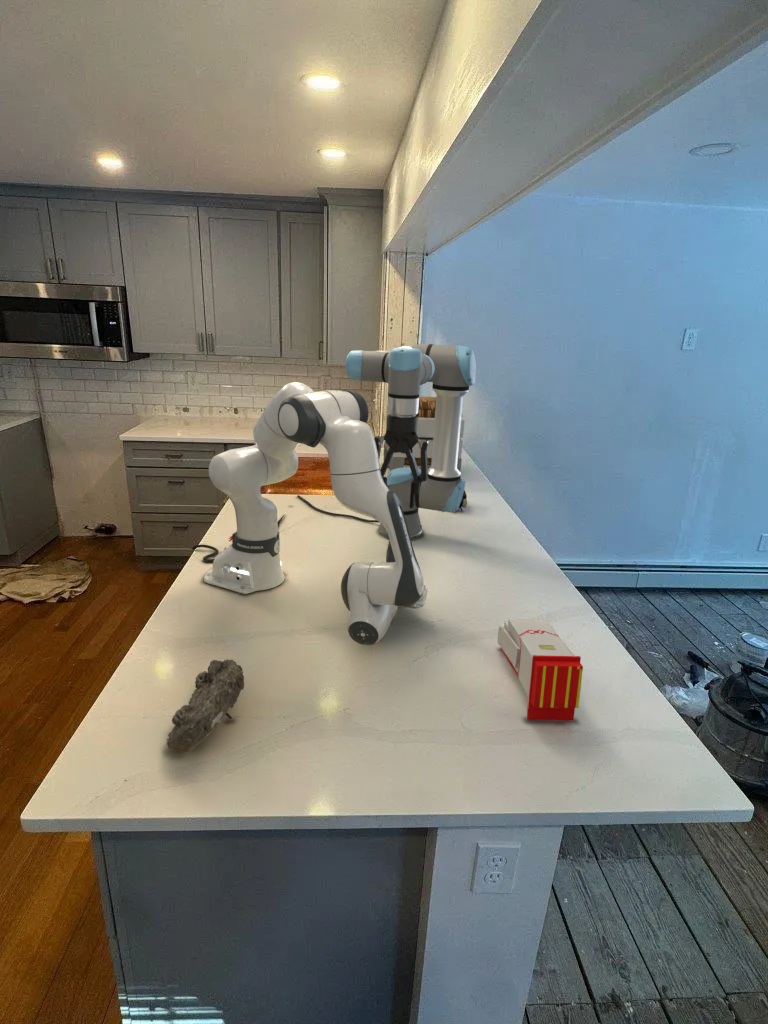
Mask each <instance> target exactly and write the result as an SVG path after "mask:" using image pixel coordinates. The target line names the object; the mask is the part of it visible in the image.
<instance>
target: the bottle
mask: <svg viewBox="0 0 768 1024" xmlns="http://www.w3.org/2000/svg"><path fill="white" fill-rule="evenodd" d="M386 547H387V548H386V553H385V562H396V561H395V558H394V554H393V550H392V547H391V543H390V540H388V543H387V546H386Z"/></svg>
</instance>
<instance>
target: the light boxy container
mask: <svg viewBox="0 0 768 1024" xmlns="http://www.w3.org/2000/svg"><path fill="white" fill-rule="evenodd" d="M435 409H436V396H419V408H418V414H417V415H416V416H417V417H418V424H417V435H418V438H419V439H421V440H424V441H425V440H428V441H429V445H428V448H427V467H431V462H432V449H433V436H434V422H435ZM385 414H386V415H385V423H386V424H387V416H388V415H389V413H388V412H387V411H386V413H385ZM464 429H465V419H464V418H463V417H462V418H461V428H460V439H459V450H458V461H457V469H458V470H459V471H460V472H462V461H463V460H462V453H463V442H464V441H463V440H462V439H463V438H464V431H465V430H464ZM412 449H413V452H414V457H415V461H416V464H417V467H421V454H420V453H421V449H420V448H419V445H418V443H416V445H415V446H414V447H413V448H412ZM388 450H389V446H388V445H387V443H386V442H385V441H383V461H384V460H385V458H386V455H387V452H388ZM405 466H406V467H410V465H409V462H408V458H407V457H406V454H404V453H400V452H398V453H394V454H393V456H392V458H391V461H390V463H389V465H388V468H389V472H390V471H391V470H393V469H396V468H402V467H405Z"/></svg>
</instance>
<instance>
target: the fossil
mask: <svg viewBox="0 0 768 1024" xmlns="http://www.w3.org/2000/svg"><path fill="white" fill-rule="evenodd" d="M243 670H244V669H243V667H242V665H240V664H237V662H236V661H235V660H234V659H232V658H231V659H227V658H226V659H224V660H223V661H222V660H217V659H212V660H211V661H210V663H209V665H208V666H207V671H201V672H199V673H198V674H197V675H196V676H195V680H194V684H195V685H194V687H195V689H194V690H193V693H192V694H191V697H190V698H189V700H188V704H184V705H182V706H181V707H180V709H177V710H176V711H175V713H174V715H173V716H172V718H171V723H172V724H173V727H172V730H171V731H170V732H168V734H167V738H166V741H167V742H166V745H167V749H168V750H169V751H173V752H174V753H176V754H178V753H182V752H188V751H189V752H192V751H193V750H195V748H196V747H197V746H199V744H200V743H201V742H203V741H204V740H205V739H206V738H207V737H208V736H209V735H210V734H211V733H212V732H214V730H215V729H217V727H218V726H219V724H220V722H221V721H222V720H223V719H224V718H225V716H226V717H227V719H229V720H233V717H232V715H230V714H229V710H230V709H231V708H234V706H235V704H236V703H237V702H238V699H239V697H240V695H241V693H242V691H243V690H245V689H244V688H245V675H244V671H243Z"/></svg>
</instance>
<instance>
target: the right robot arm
mask: <svg viewBox="0 0 768 1024" xmlns="http://www.w3.org/2000/svg"><path fill="white" fill-rule="evenodd" d="M345 374H346V376H347V377H348V378H349V380H353V381H359V382H372V383H373V382H374V383H385V384H387V385H388V386H387V403H386V412H388V413H389V415H388V416H387V423H386V428H385V433H384V435H376V436H374V438H375V442H376V446H377V451H378V456H379V460H380V458H381V452H382V445H384V442H386V443H387V445H388V446H389V450H388V452H387V455H386V458H385V460H384V459H383V463H382V464H381V466H380V472H381V476H382V479H383V481H384V483H385V485H386V486H387V488H388V489H389V490H390V491H392V492H394V493H395V494H396V495H397V497H398V499H399V501H400V504H401V507H402V510H403V513H404V516H405V520H406V523H407V527H408V531H409V534H410V538H411V540H415V539H418V538H420V537H421V536H422V535H423V525H422V524H421V518H420V515H419V509H424V510H431V511H435V512H436V511H437V512H441V513H456V512H457V511H458V507H459V505H460V503H461V500H462V497H463V493H464V490H465V489H466V480H465V479H464V478H462V473H461V472H462V471H461V472H460V471H459V470H458V469H457V461H458V450H459V439H461V438H460V428H461V418H462V419H463V408H464V407H463V405H464V396H465V395H466V394H467V393H468V392H469V391H470V387H471V386H474V385H475V383H476V376H477V363H476V356H475V353H474V350H473V349H472V348H471V347H470V346H464V345H459V344H457V345H455V344H454V345H453V344H436V343H435V344H434V343H433V344H432V343H419V344H412V345H411V344H410V345H403V346H399V347H393V348H392V349H390V350H362V349H359V350H357V349H356V350H351V351H349V352H348V354H347V356H346V359H345ZM427 383H432V386H431V387H432V390H433V391H434V393H435V394H436V396H435V397H436V409H435V422H434V436H433V449H432V462H431V465H430V466H427V448H428V445H429V441H428V440H425V441H424V440H421V439H419V438H418V435H417V424H418V417H417V416H416V415H417V414H418V408H419V397H420V388H421V386H422V385H425V384H427ZM416 443H418V445H419V448H420V449H421V453H420V454H421V466H420V468H419V466H417V464H416V461H415V457H414V452H413V449H412V448H413V447H414V446H415V445H416ZM398 452H400V453H404V454H406V457H407V458H408V462H409V465H410V466H404V467H402V468H396V469H393V470H391V471H390V470H389V472H388V473H387V475H386V472H387V470H388V468H389V467H388V465H389V463H390V461H391V458H392V456H393V454H394V453H398ZM428 467H429V468H428ZM296 497H297V498H298V499H300V500H302V501H303V502H304V503H306V504H307V505H308V506H309V507H310V508H312V509H314V510H316V511H317V512H320V513H323V514H327V515H330V516H337V517H346V518H351V519H356V520H359V521H362V522H366V523H377V524H378V523H379V525H378V533H379V534H380V535H381V536H382V537H385V538H387V530H386V528H385V527H384V526H383V525H382V524H381V523H380V522H378V521H377V520H375V519H367V518H362V517H359V516H356V515H355V516H354V515H351V514H345V513H336V512H330V511H326V510H323V509H320V508H318V507H316V506H314V505H313V504H311V502H309V501H308V500H307V499H305V498H303V497H302V496H301V495H299V494H297V495H296Z"/></svg>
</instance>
